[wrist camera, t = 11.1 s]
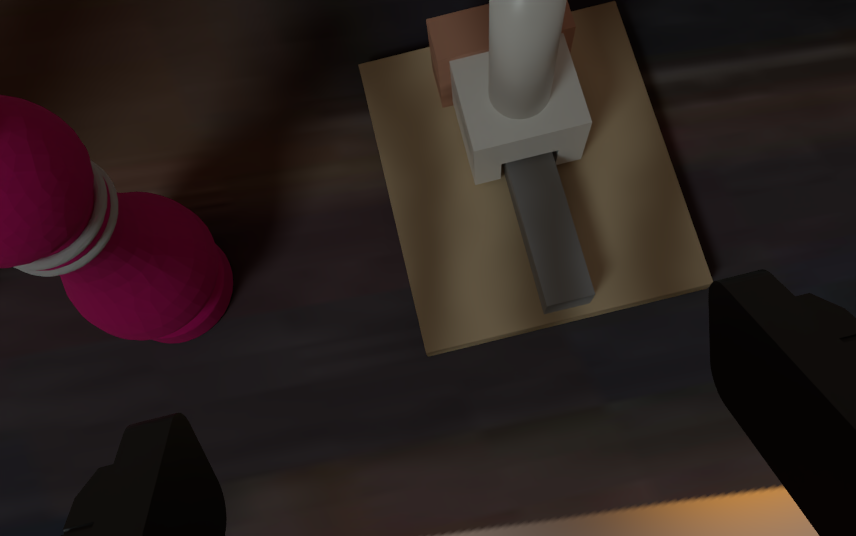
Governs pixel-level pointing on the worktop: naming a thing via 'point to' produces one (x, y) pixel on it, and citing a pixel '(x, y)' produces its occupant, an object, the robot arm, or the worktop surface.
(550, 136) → the white handled block
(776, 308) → the robot arm
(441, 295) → the track
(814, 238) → the worktop surface
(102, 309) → the pepper mill
